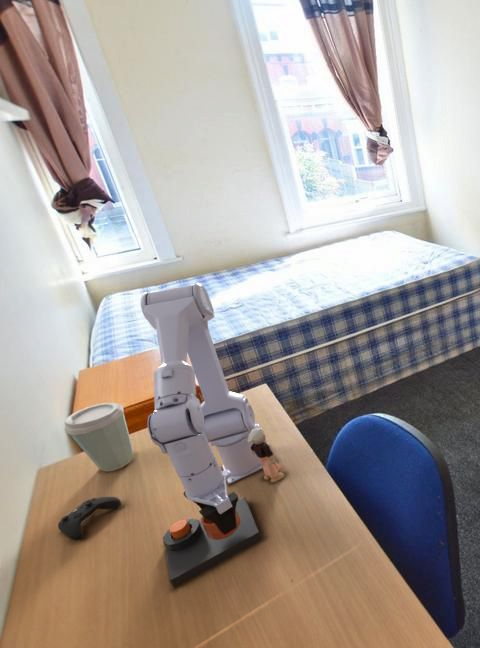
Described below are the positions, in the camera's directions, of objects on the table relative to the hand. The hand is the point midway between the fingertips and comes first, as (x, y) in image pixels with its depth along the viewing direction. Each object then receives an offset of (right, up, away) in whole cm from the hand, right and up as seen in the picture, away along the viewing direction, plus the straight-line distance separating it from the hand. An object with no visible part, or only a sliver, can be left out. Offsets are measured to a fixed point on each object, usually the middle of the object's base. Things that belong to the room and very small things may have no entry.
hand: (223, 522), depth 86 cm
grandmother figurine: (0, +2, +17) cm, 17 cm away
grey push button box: (-3, -4, +2) cm, 6 cm away
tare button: (-8, -2, +1) cm, 8 cm away
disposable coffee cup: (-41, +2, +26) cm, 49 cm away
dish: (0, -1, +1) cm, 2 cm away
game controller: (-33, -4, +10) cm, 35 cm away
